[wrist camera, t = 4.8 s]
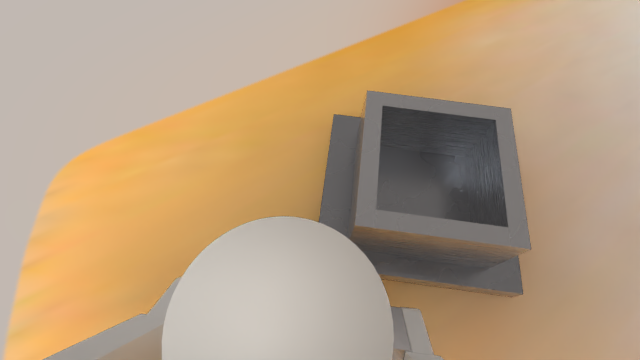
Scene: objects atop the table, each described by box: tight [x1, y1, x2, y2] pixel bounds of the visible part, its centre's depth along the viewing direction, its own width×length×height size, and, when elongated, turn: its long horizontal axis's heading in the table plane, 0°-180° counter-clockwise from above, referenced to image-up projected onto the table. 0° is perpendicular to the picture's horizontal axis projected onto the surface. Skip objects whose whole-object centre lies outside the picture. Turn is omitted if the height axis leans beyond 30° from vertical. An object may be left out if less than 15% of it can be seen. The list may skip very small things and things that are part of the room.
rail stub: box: [162, 216, 394, 360], centre depth 10 cm, size 4×4×11 cm
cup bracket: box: [319, 91, 531, 297], centre depth 17 cm, size 10×9×4 cm
